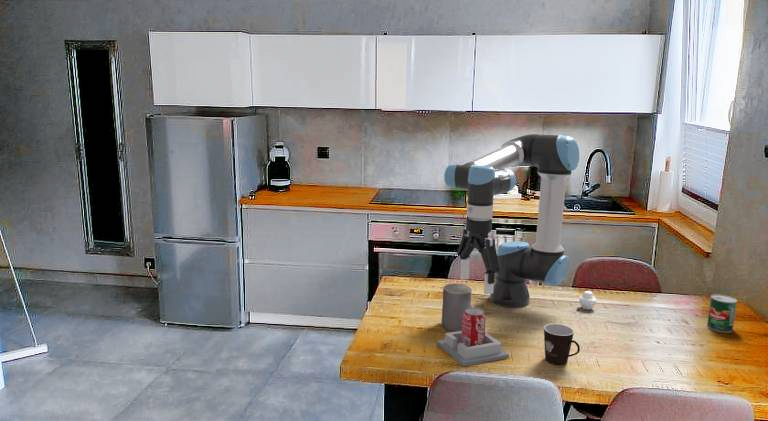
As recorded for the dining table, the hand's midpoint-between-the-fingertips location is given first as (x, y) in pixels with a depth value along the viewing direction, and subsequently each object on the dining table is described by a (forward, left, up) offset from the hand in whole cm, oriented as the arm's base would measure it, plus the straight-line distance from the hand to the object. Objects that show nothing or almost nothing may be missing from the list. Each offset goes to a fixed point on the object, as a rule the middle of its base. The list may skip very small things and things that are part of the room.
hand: (476, 286), depth 171 cm
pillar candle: (-5, -19, -21) cm, 29 cm away
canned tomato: (-91, +15, -21) cm, 95 cm away
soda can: (0, 0, -20) cm, 20 cm away
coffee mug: (-20, +16, -21) cm, 33 cm away
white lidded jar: (-60, -16, -21) cm, 65 cm away
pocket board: (0, 0, -21) cm, 21 cm away
